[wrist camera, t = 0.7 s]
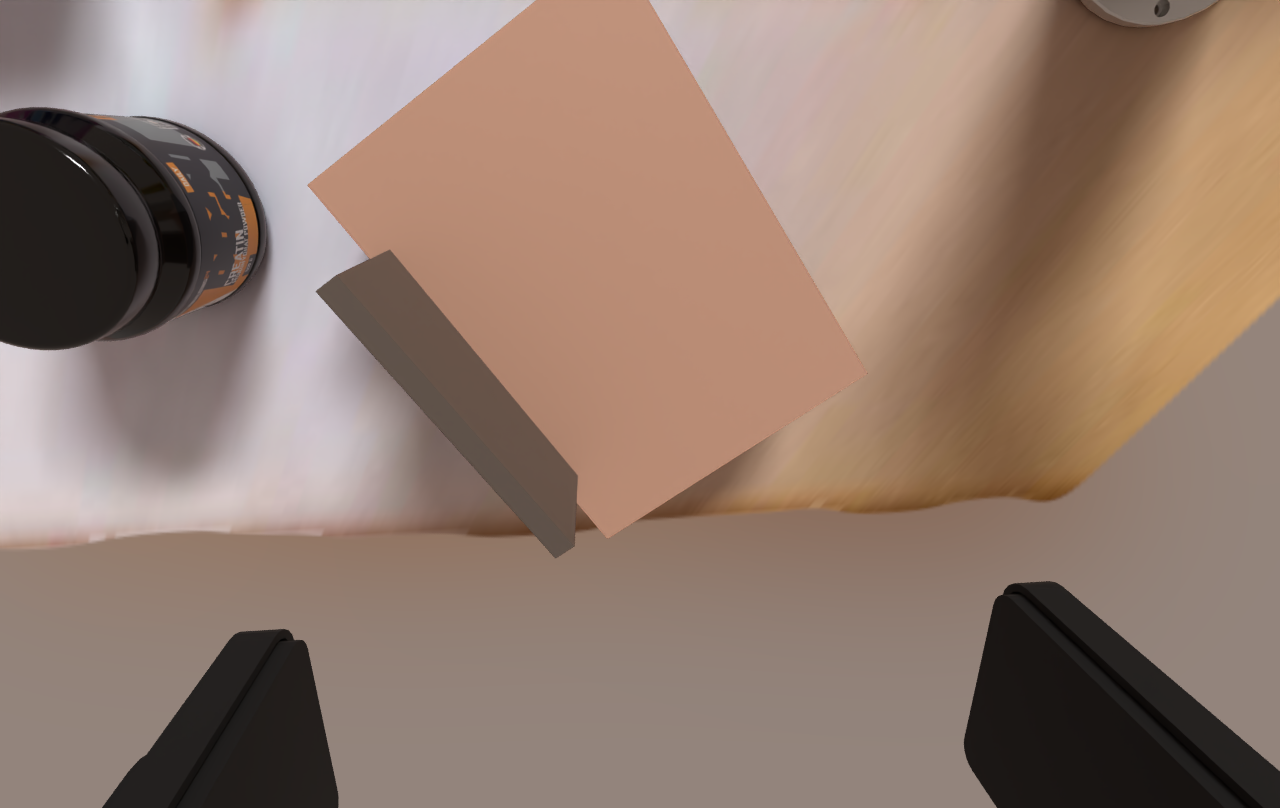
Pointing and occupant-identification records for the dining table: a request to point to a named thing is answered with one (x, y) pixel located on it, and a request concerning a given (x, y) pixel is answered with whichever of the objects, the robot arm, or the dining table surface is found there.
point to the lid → (579, 271)
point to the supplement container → (116, 226)
